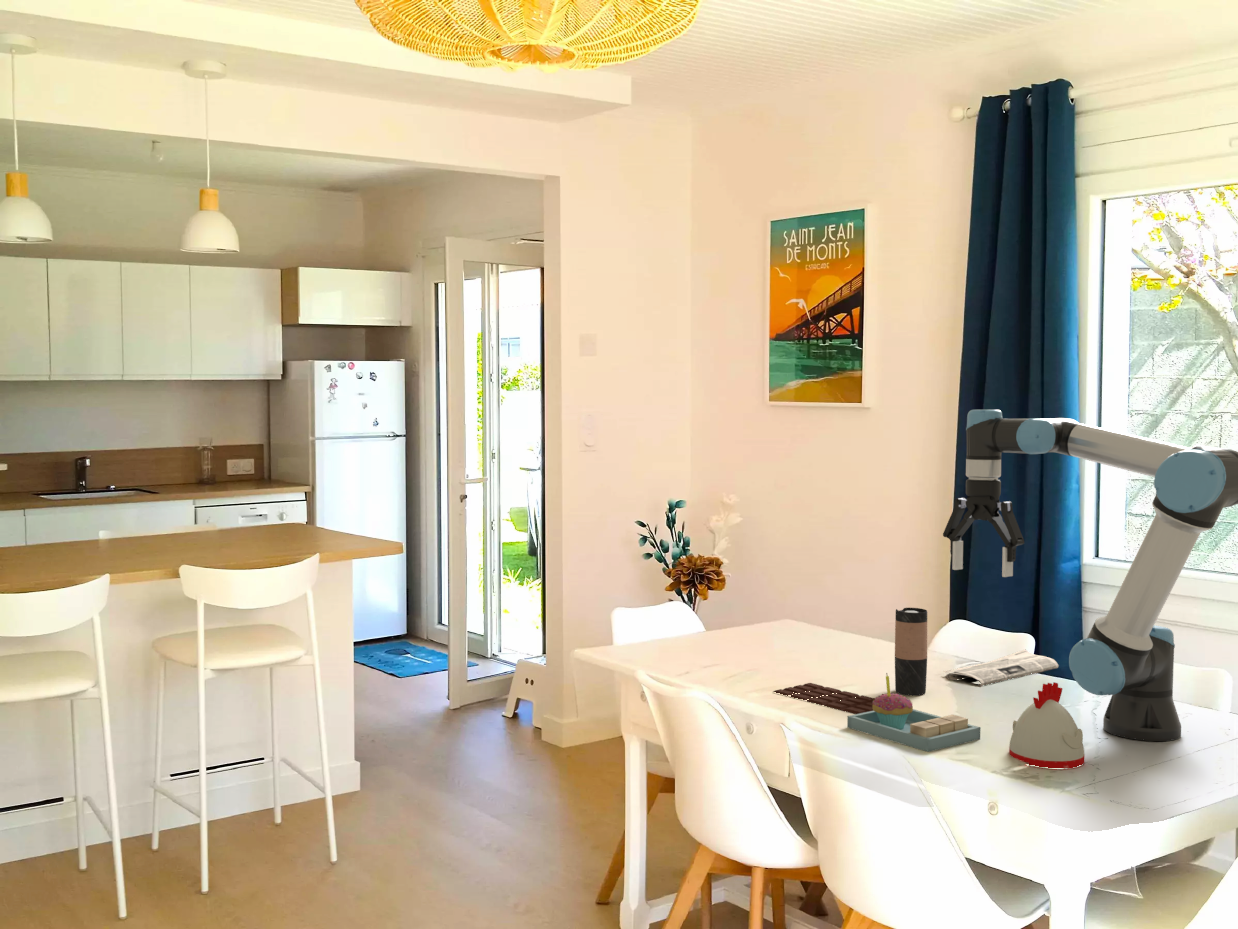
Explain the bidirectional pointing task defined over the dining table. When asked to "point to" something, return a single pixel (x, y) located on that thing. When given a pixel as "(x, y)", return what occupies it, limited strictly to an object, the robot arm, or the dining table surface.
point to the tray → (872, 726)
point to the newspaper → (1004, 668)
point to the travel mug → (911, 651)
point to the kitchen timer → (1047, 733)
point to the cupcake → (892, 708)
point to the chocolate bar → (830, 698)
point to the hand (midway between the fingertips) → (982, 573)
